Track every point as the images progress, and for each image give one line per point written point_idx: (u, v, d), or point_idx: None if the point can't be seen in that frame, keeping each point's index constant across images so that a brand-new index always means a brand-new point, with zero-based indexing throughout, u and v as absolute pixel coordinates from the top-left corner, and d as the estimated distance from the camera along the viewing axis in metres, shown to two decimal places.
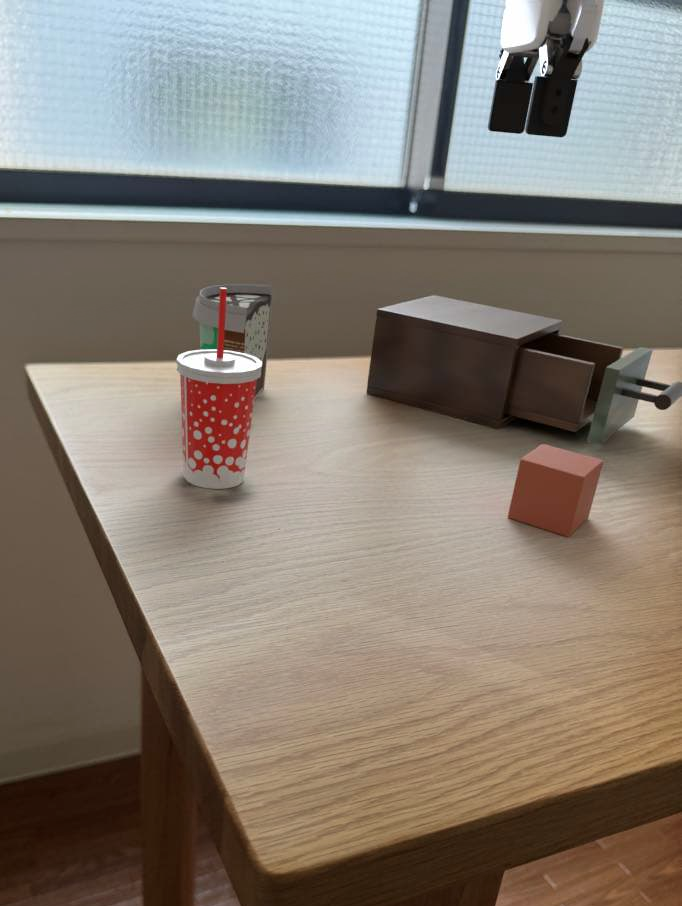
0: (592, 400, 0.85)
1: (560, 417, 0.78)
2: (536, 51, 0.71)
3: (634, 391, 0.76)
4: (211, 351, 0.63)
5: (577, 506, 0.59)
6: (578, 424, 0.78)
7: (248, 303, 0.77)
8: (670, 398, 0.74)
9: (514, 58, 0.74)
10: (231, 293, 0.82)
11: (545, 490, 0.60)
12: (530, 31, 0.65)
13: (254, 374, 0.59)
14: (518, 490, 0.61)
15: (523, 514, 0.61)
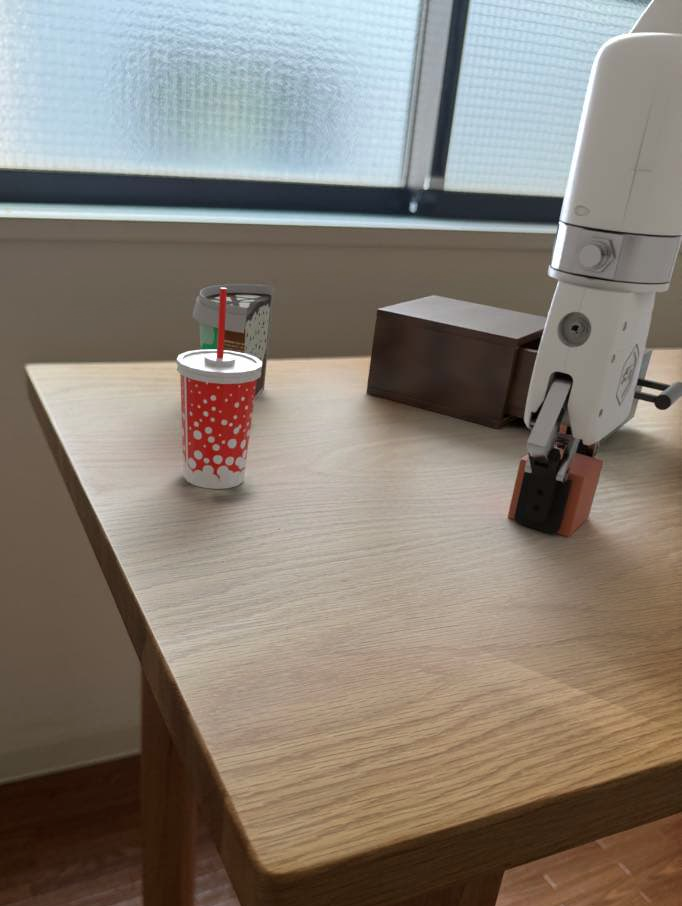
0: None
1: None
2: None
3: None
4: (211, 351, 0.63)
5: (577, 506, 0.59)
6: None
7: (248, 303, 0.77)
8: (670, 398, 0.74)
9: None
10: (231, 293, 0.82)
11: None
12: None
13: (254, 374, 0.59)
14: (518, 490, 0.61)
15: None
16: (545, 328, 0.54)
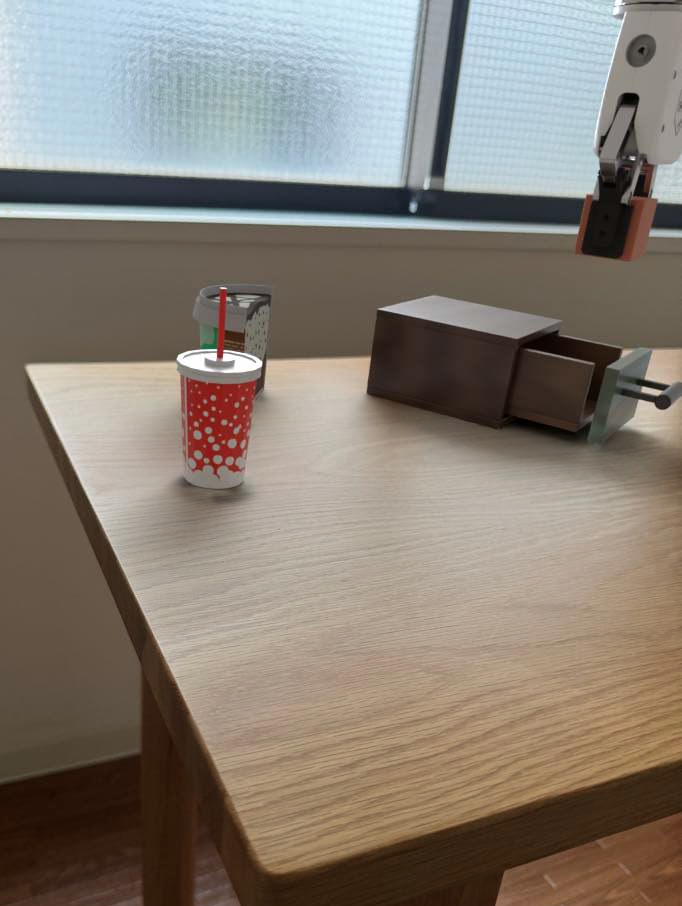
0: (592, 400, 0.85)
1: (560, 417, 0.78)
2: None
3: (634, 391, 0.76)
4: (211, 351, 0.63)
5: (638, 231, 0.67)
6: (578, 424, 0.78)
7: (248, 303, 0.77)
8: (670, 398, 0.74)
9: None
10: (231, 293, 0.82)
11: None
12: None
13: (254, 374, 0.59)
14: (584, 225, 0.69)
15: None
16: (614, 55, 0.62)
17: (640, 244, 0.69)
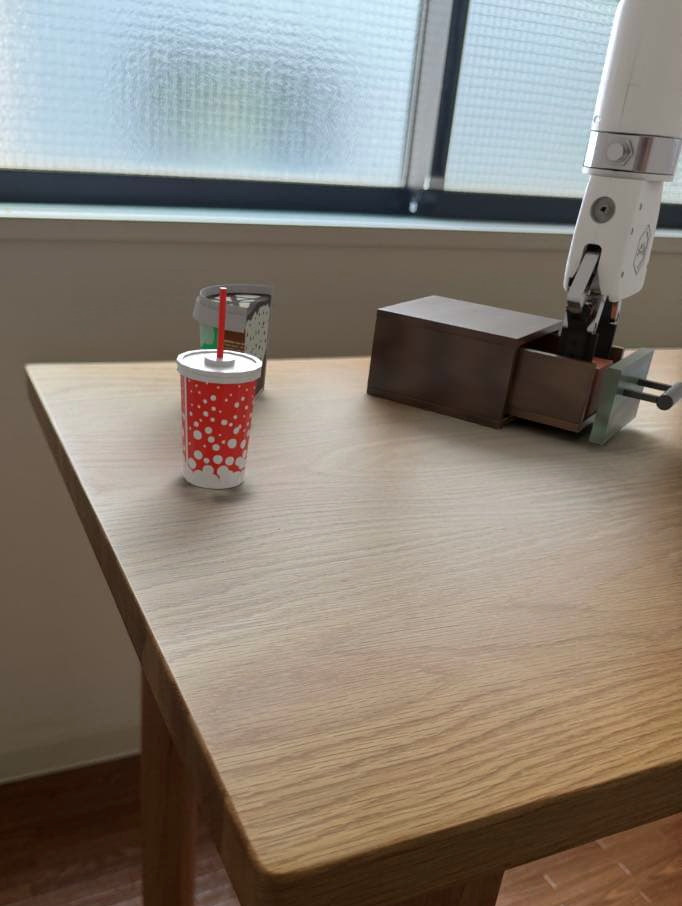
0: None
1: (562, 417, 0.78)
2: None
3: (636, 391, 0.76)
4: (211, 351, 0.63)
5: (593, 392, 0.78)
6: (580, 424, 0.77)
7: (248, 303, 0.77)
8: (672, 399, 0.74)
9: None
10: (231, 293, 0.82)
11: None
12: None
13: (254, 374, 0.59)
14: None
15: None
16: (580, 211, 0.72)
17: (597, 400, 0.81)
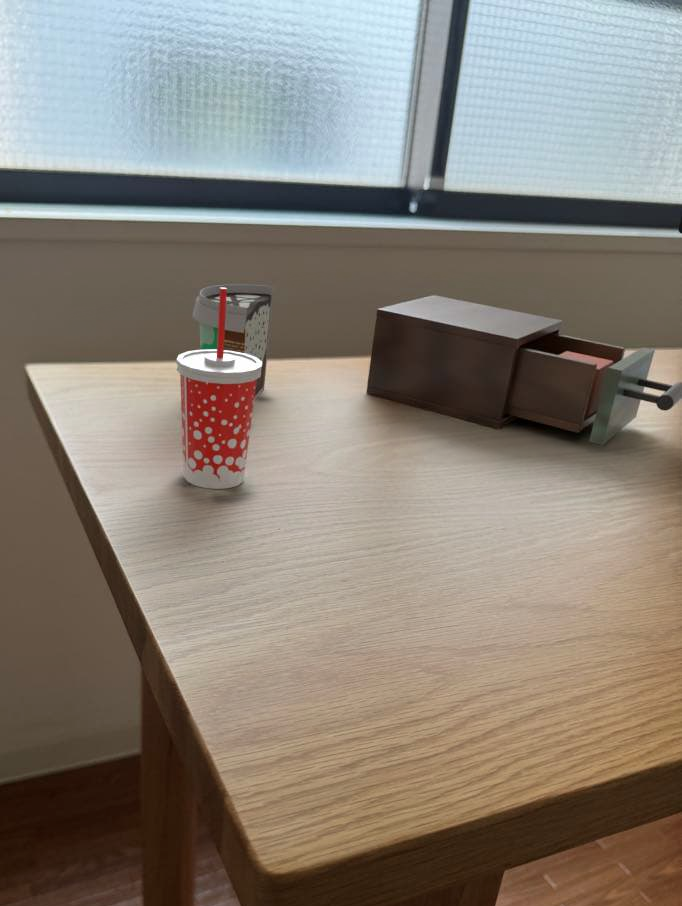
0: None
1: (562, 418, 0.78)
2: None
3: (636, 391, 0.76)
4: (211, 351, 0.63)
5: (594, 392, 0.78)
6: (580, 425, 0.77)
7: (248, 303, 0.77)
8: (672, 399, 0.74)
9: None
10: (231, 293, 0.82)
11: None
12: None
13: (254, 374, 0.59)
14: None
15: None
16: None
17: (597, 400, 0.80)
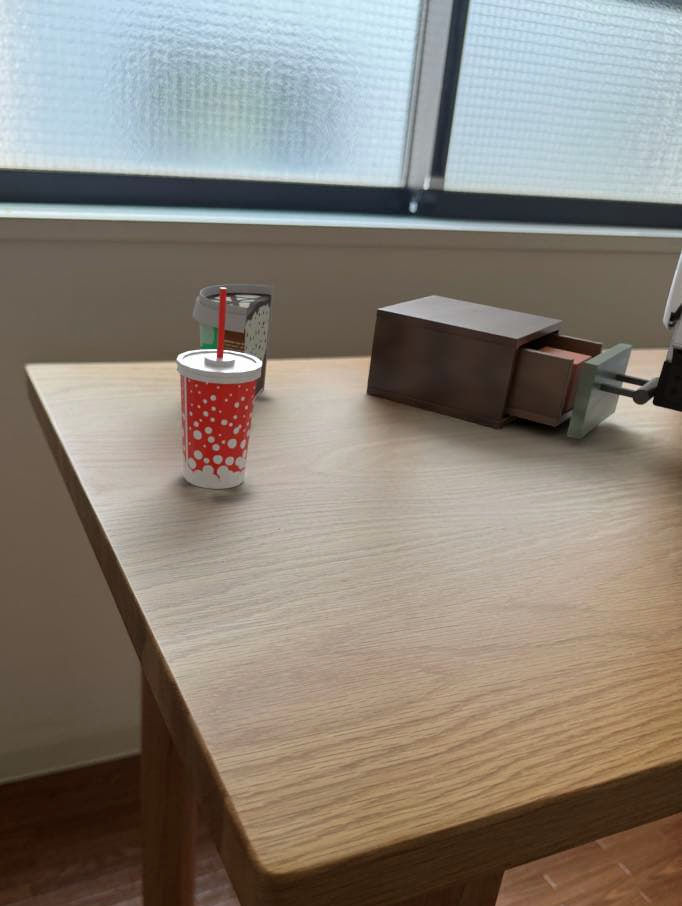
0: None
1: (540, 412, 0.79)
2: None
3: (613, 386, 0.77)
4: (211, 351, 0.63)
5: (572, 387, 0.79)
6: (558, 419, 0.78)
7: (248, 303, 0.77)
8: (648, 393, 0.75)
9: None
10: (231, 293, 0.82)
11: None
12: None
13: (254, 374, 0.59)
14: None
15: None
16: None
17: None
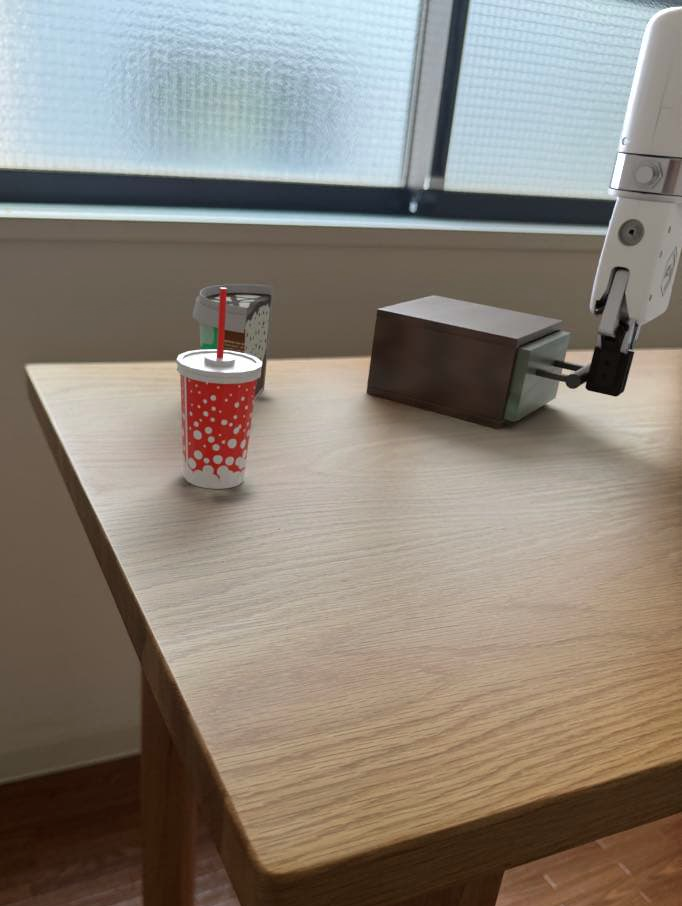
0: None
1: None
2: None
3: (547, 371, 0.80)
4: (211, 351, 0.63)
5: None
6: None
7: (248, 303, 0.77)
8: (579, 378, 0.78)
9: None
10: (231, 293, 0.82)
11: None
12: None
13: (254, 374, 0.59)
14: None
15: None
16: (607, 233, 0.71)
17: None
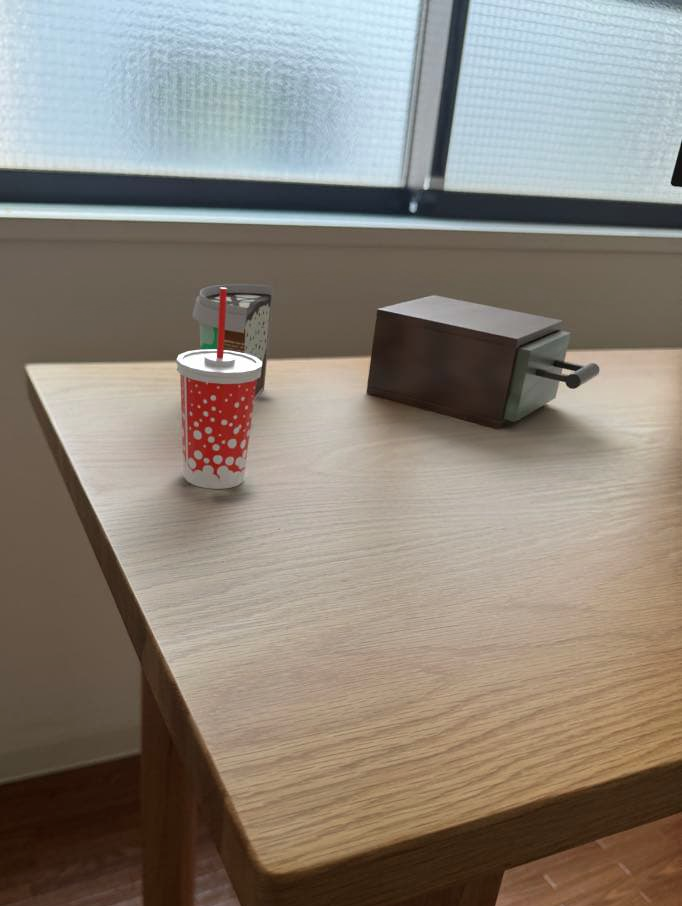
0: None
1: None
2: None
3: (547, 371, 0.80)
4: (211, 351, 0.63)
5: None
6: None
7: (248, 303, 0.77)
8: (579, 378, 0.78)
9: None
10: (231, 293, 0.82)
11: None
12: None
13: (254, 374, 0.59)
14: None
15: None
16: None
17: None
